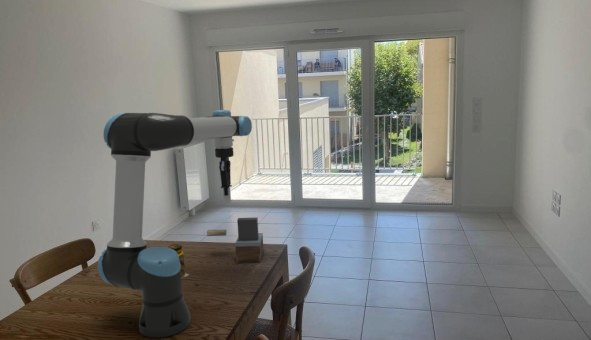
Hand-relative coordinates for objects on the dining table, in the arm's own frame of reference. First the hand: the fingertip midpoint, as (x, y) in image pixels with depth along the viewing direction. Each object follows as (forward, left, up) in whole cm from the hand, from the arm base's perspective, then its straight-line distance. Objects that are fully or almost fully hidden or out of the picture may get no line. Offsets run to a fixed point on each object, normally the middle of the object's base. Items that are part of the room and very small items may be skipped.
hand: (227, 202), depth 186 cm
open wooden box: (-4, -9, -23) cm, 25 cm away
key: (0, +5, -15) cm, 16 cm away
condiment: (-22, +18, -24) cm, 37 cm away
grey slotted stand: (-4, -9, -17) cm, 20 cm away
